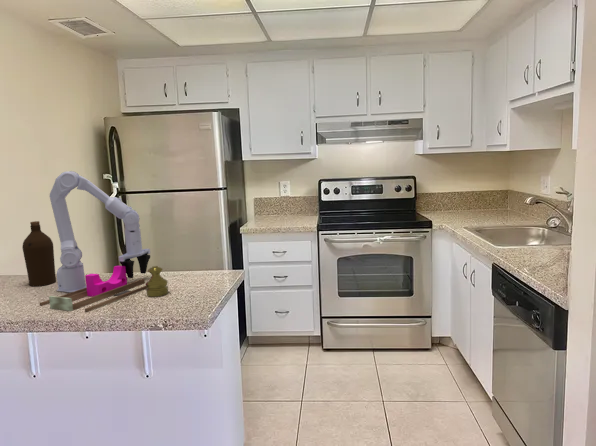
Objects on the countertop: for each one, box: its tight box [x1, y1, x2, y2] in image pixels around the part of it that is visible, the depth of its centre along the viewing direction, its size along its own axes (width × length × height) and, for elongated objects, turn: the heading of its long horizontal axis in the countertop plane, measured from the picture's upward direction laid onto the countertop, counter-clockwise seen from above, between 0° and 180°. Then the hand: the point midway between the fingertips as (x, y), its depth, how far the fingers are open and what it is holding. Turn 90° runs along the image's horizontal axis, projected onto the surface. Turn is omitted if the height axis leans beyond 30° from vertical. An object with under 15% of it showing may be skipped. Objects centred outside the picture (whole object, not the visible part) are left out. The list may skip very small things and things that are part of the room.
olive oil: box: [22, 220, 57, 287], centre depth 180 cm, size 11×11×25 cm
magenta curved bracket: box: [84, 265, 128, 297], centre depth 165 cm, size 15×6×8 cm, turn 155°
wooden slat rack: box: [39, 276, 147, 313], centre depth 161 cm, size 22×33×4 cm
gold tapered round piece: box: [145, 265, 169, 298], centre depth 158 cm, size 7×7×10 cm
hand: (137, 275), depth 177 cm, fingers open, 6 cm apart
